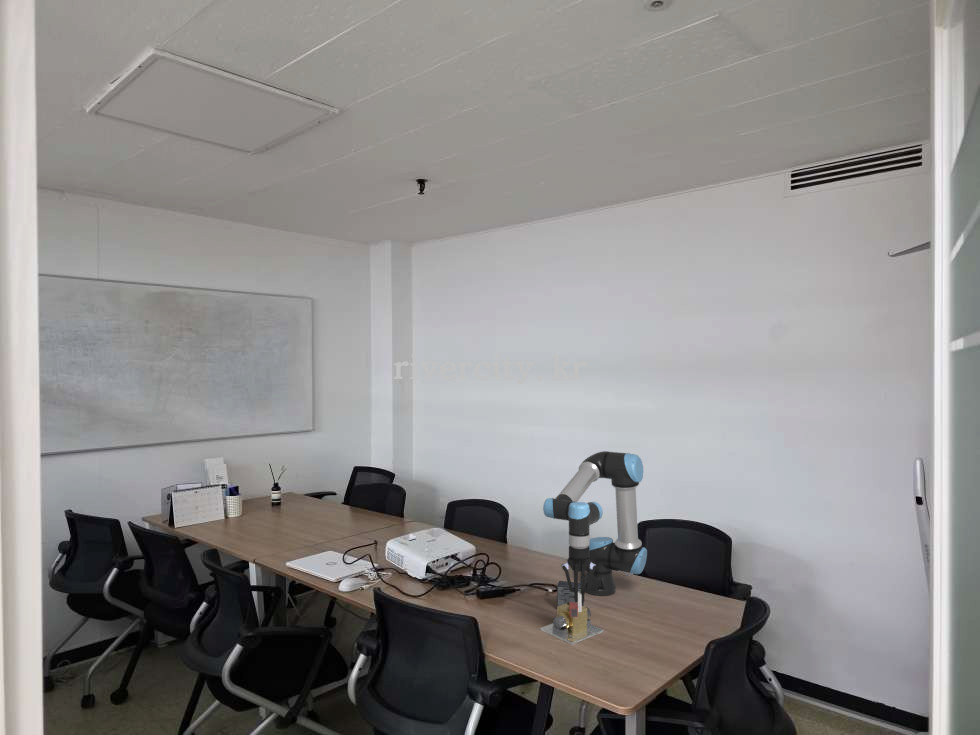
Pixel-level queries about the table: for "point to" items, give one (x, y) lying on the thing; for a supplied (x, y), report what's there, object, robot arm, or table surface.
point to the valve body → (571, 625)
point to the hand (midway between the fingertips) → (579, 610)
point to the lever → (572, 605)
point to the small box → (564, 592)
